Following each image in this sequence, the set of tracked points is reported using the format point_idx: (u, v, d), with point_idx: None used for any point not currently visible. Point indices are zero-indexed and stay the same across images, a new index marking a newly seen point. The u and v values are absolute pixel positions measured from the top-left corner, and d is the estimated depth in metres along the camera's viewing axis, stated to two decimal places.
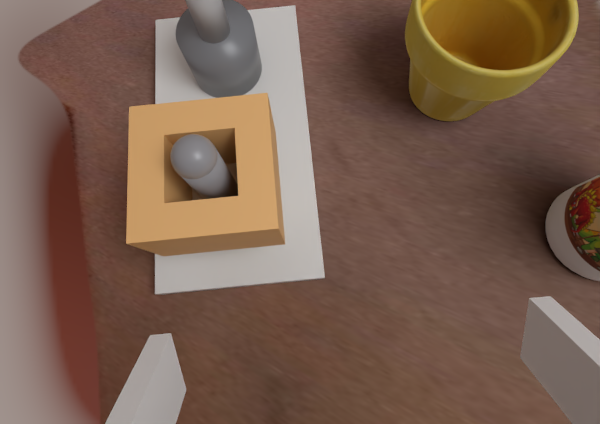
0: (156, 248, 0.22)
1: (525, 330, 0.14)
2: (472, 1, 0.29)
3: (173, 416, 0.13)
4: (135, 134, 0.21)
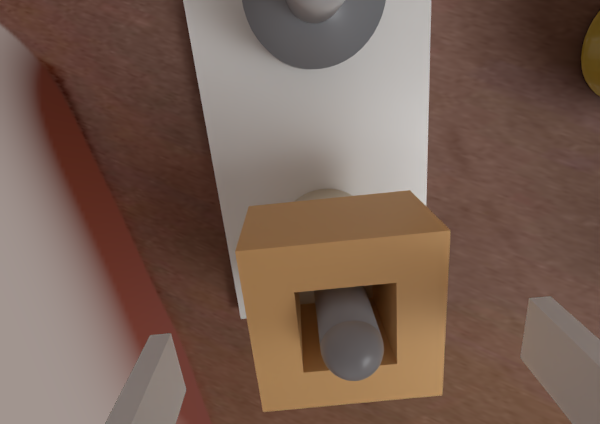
0: None
1: (525, 330, 0.14)
2: None
3: (173, 416, 0.13)
4: (252, 291, 0.15)
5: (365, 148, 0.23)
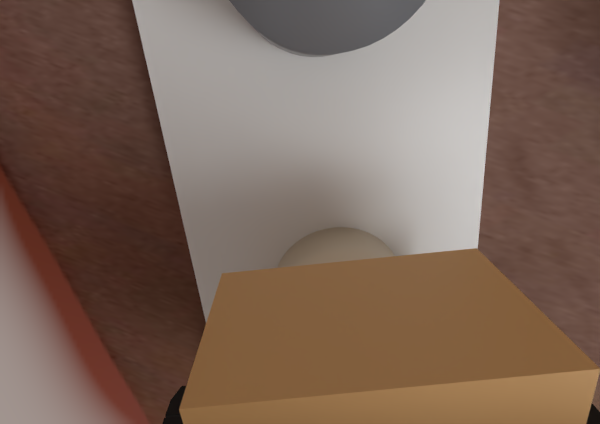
0: None
1: None
2: None
3: None
4: None
5: (395, 172, 0.16)
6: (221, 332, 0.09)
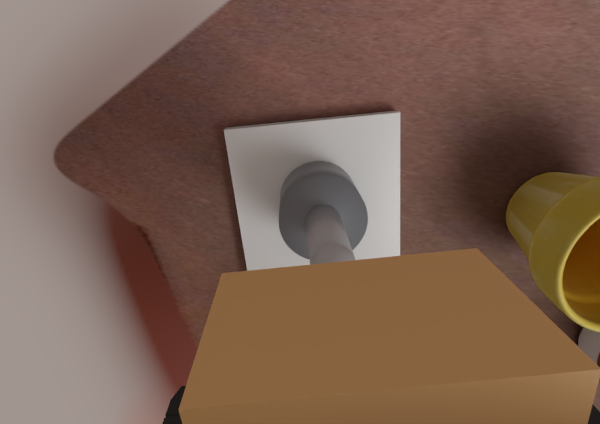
0: None
1: None
2: None
3: None
4: None
5: None
6: (221, 332, 0.09)
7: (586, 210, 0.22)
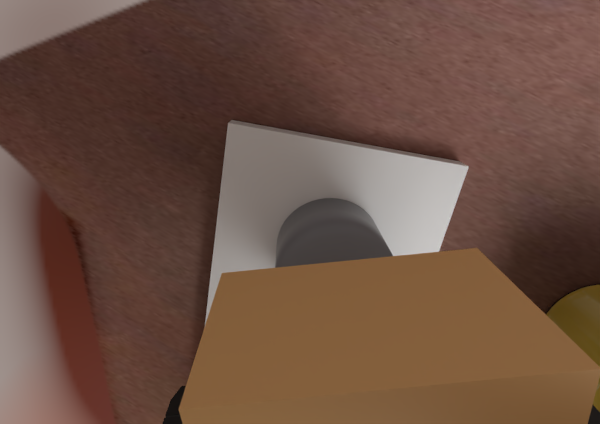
0: None
1: None
2: None
3: None
4: None
5: None
6: (221, 332, 0.09)
7: None
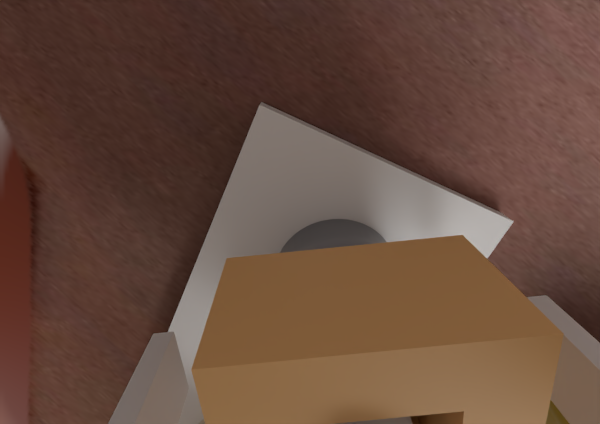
0: None
1: None
2: None
3: (176, 414, 0.13)
4: None
5: None
6: (227, 307, 0.10)
7: None
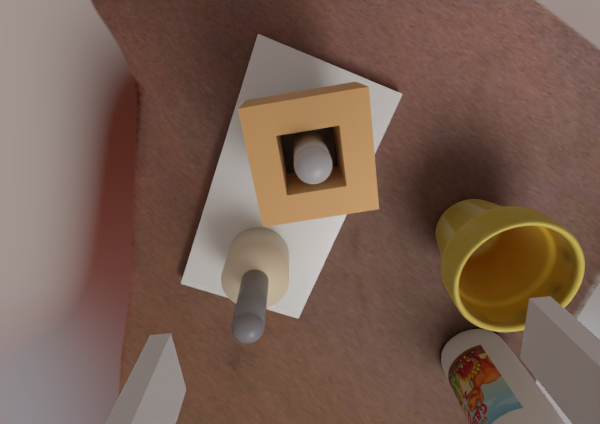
0: None
1: (525, 330, 0.14)
2: None
3: (173, 416, 0.13)
4: (249, 136, 0.23)
5: None
6: (248, 103, 0.25)
7: (502, 221, 0.28)
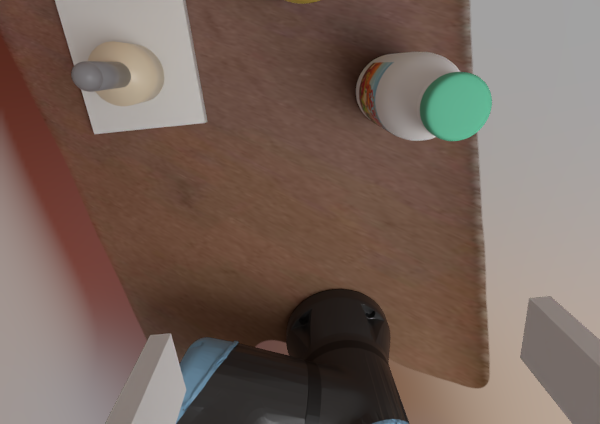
0: None
1: (525, 330, 0.14)
2: None
3: (173, 416, 0.13)
4: None
5: (149, 18, 0.39)
6: None
7: None
